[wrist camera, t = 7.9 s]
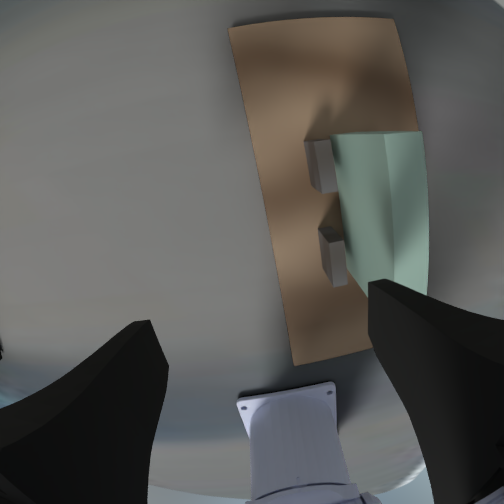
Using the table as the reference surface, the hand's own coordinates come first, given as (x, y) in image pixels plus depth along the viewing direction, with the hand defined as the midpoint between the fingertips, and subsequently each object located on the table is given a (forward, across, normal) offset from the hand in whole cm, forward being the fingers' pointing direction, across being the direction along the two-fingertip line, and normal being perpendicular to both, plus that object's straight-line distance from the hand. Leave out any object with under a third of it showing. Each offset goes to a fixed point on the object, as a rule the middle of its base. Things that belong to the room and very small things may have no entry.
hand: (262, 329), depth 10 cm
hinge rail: (+9, -6, -2) cm, 11 cm away
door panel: (+9, -6, -1) cm, 11 cm away
